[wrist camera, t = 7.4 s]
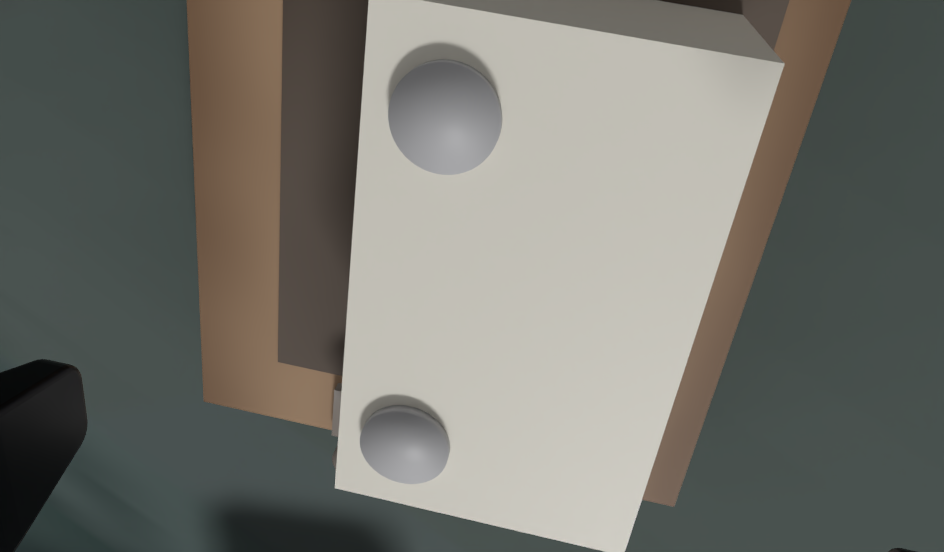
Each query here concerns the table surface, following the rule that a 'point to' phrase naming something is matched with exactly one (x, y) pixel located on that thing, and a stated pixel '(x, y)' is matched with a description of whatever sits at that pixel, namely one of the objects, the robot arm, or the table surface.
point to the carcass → (333, 197)
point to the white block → (537, 249)
